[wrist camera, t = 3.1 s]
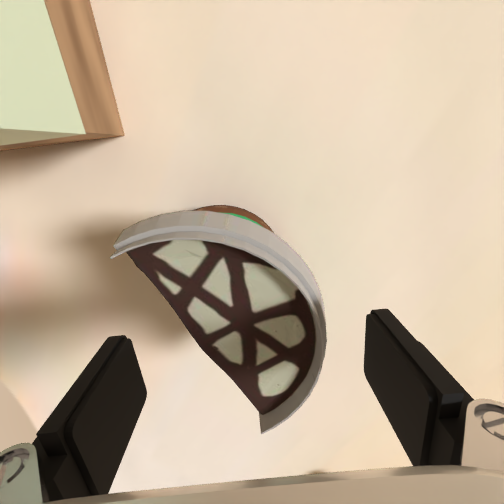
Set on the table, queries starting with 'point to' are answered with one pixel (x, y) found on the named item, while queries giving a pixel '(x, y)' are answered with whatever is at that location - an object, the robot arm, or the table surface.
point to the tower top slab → (33, 77)
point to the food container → (238, 300)
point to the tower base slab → (82, 72)
